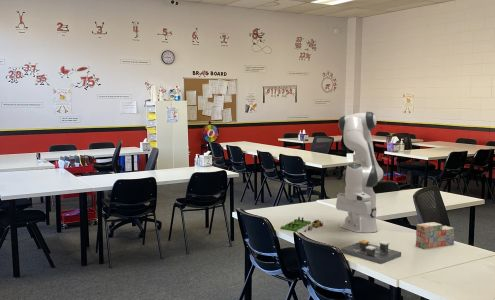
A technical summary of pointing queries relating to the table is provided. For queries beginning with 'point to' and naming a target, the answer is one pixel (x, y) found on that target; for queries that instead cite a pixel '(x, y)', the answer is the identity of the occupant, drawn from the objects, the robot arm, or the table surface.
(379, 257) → the panel
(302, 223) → the toy garden set
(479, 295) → the table surface
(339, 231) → the table surface
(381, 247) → the breaker far
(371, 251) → the breaker near
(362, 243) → the breaker
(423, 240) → the stack of blocks
